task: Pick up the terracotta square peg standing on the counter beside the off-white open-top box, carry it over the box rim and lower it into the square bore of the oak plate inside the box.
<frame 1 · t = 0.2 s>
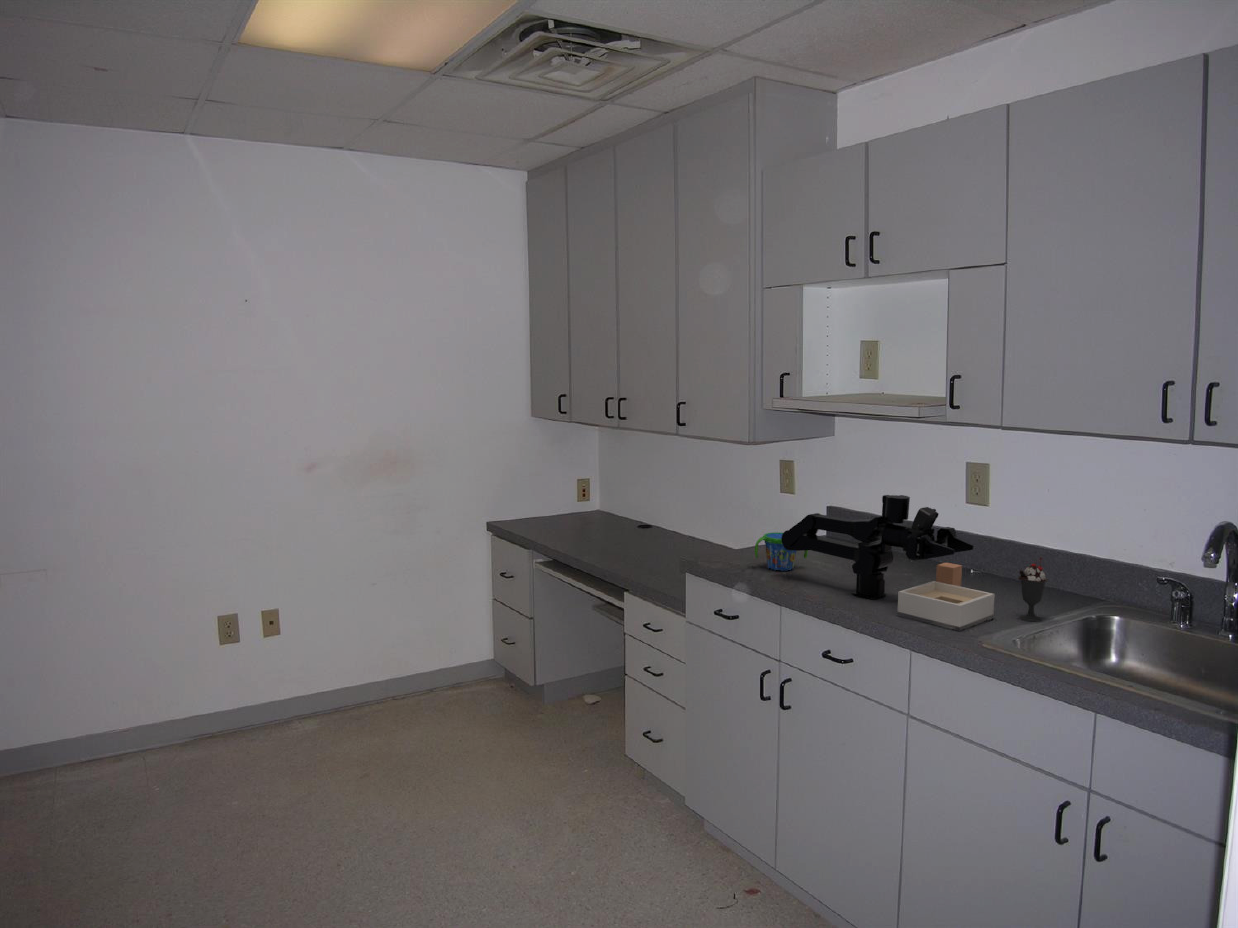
hand: (963, 549, 208), 17 cm above the worktop, tool horizontal, fingers open, 9 cm apart
socket box: (945, 616, 210), on the worktop
sundae: (1030, 619, 209), on the worktop
peg: (947, 599, 226), on the worktop
snack cup: (780, 569, 258), on the worktop
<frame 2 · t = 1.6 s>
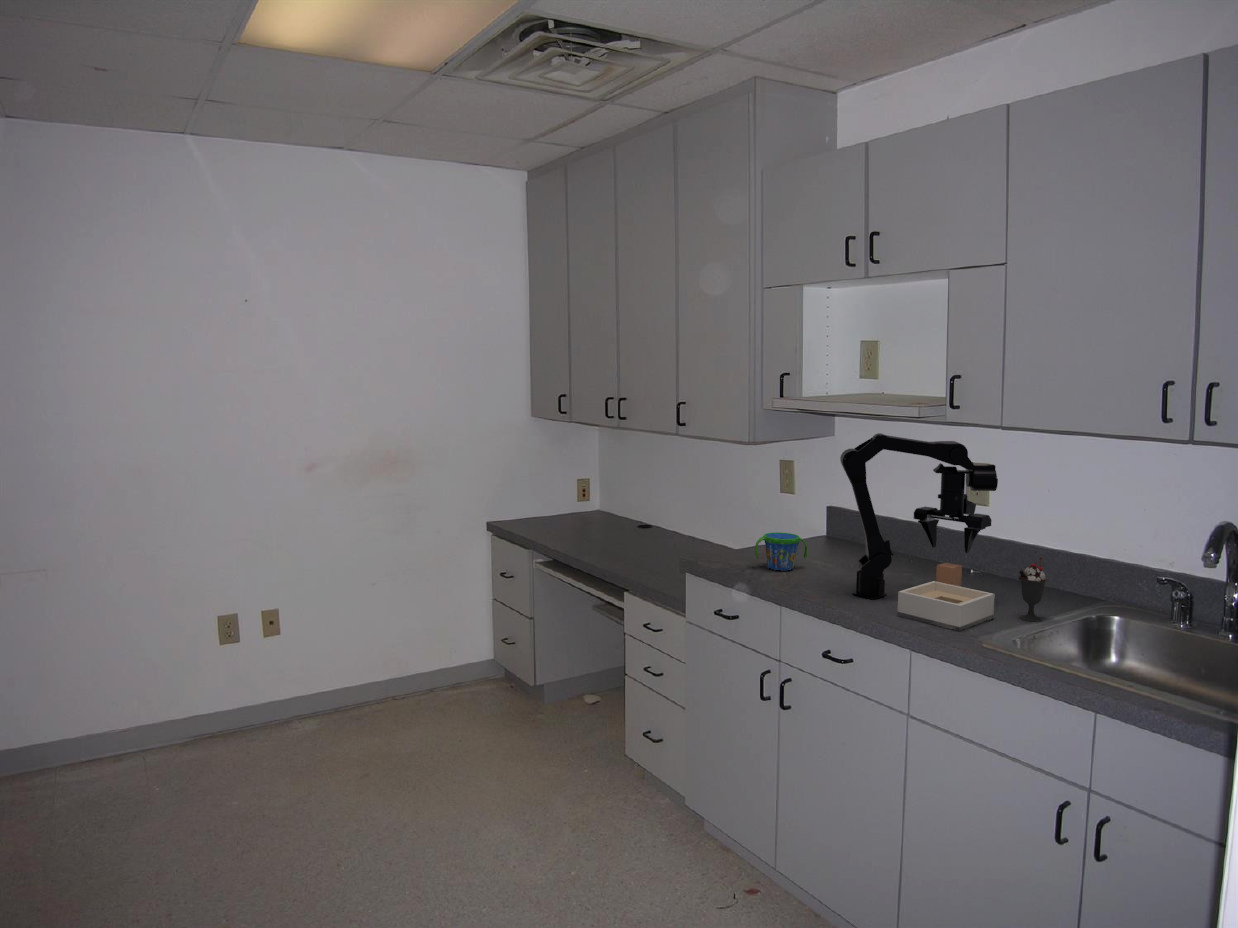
hand: (950, 550, 224), 13 cm above the worktop, tool pointing down, fingers open, 9 cm apart
nothing on the worktop moved.
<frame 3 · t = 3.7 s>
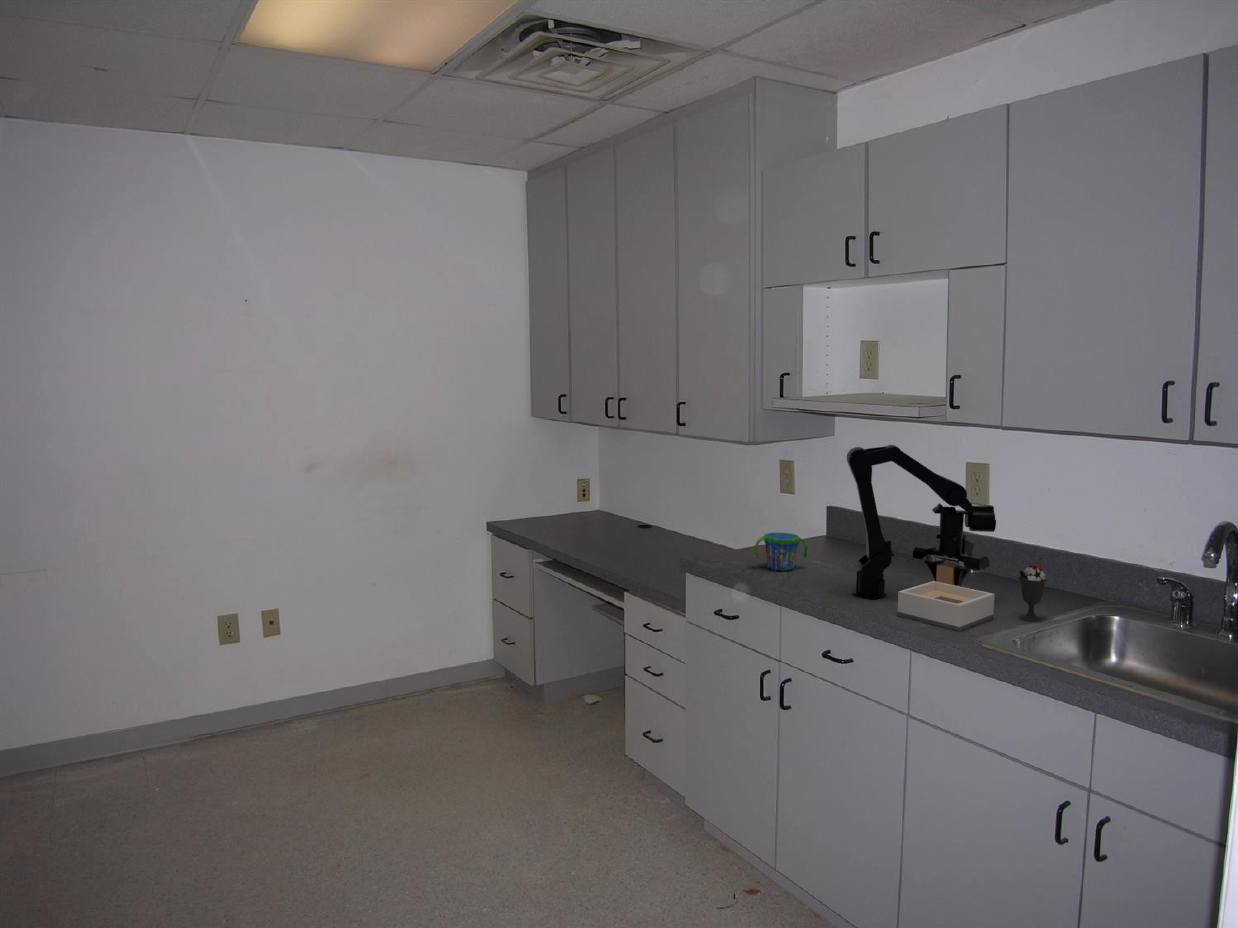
hand: (948, 589, 226), 3 cm above the worktop, tool pointing down, fingers closed on peg, 4 cm apart
peg: (947, 599, 226), on the worktop, touching gripper
everything else where it was.
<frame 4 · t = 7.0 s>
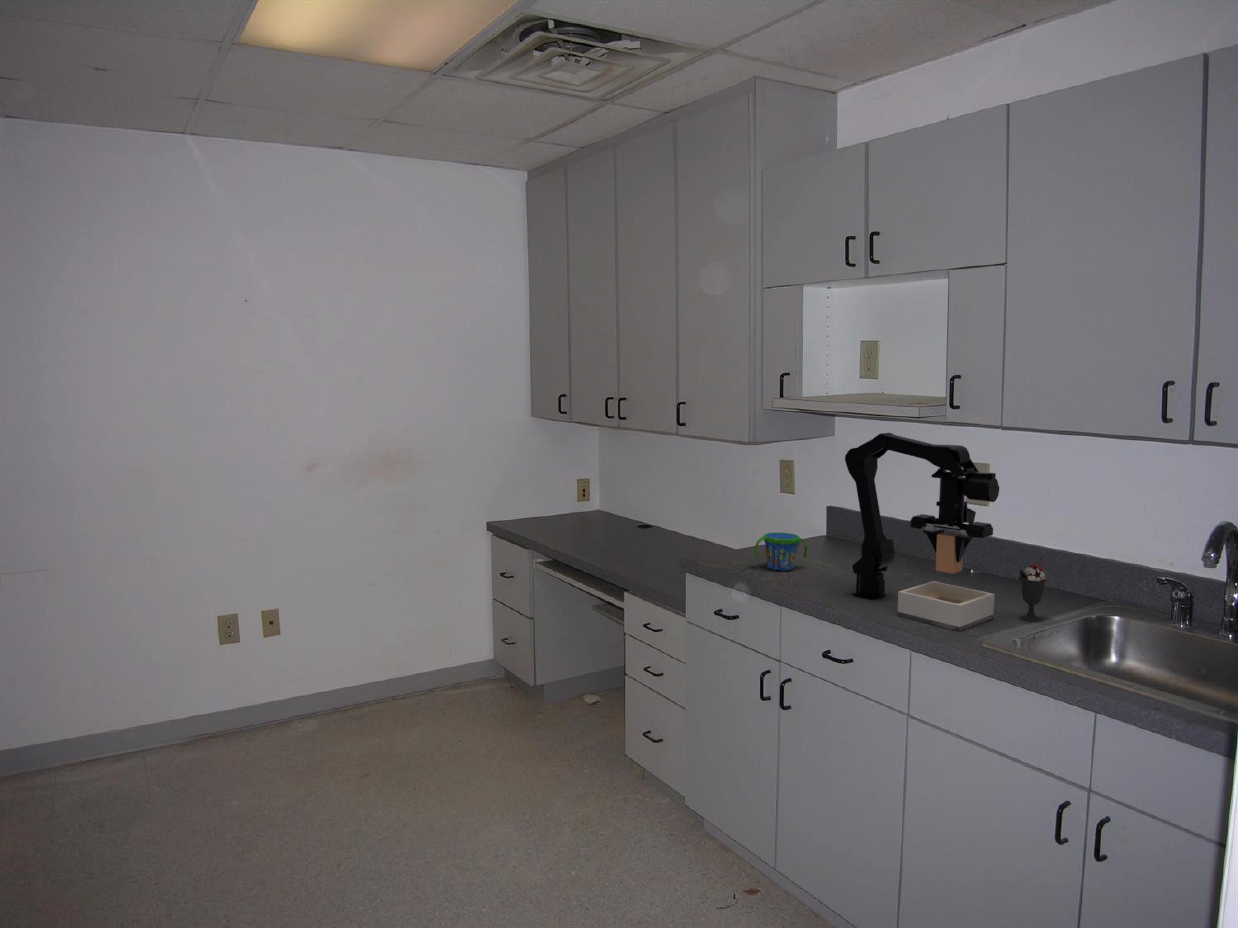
hand: (949, 560, 212), 13 cm above the worktop, tool pointing down, fingers closed on peg, 4 cm apart
peg: (948, 570, 212), point 11 cm above the worktop, touching gripper
everything else where it was.
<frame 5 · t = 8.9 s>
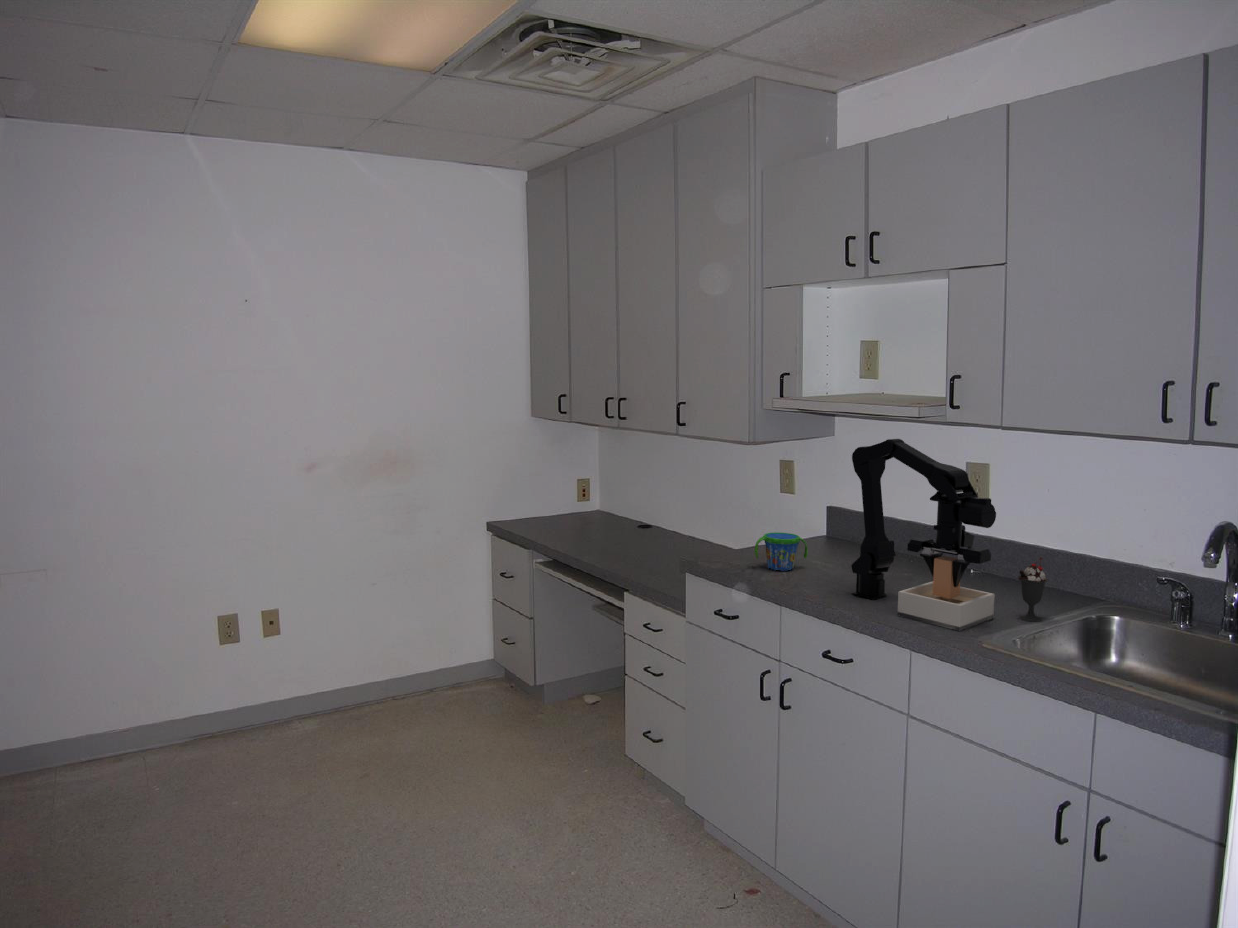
hand: (946, 584, 209), 8 cm above the worktop, tool pointing down, fingers closed on peg, 4 cm apart
peg: (946, 595, 210), point 5 cm above the worktop, touching gripper
everything else where it was.
when the fingers open (5 cm above the worktop, at t = 10.7 s): peg drops 1 cm, resting on socket box.
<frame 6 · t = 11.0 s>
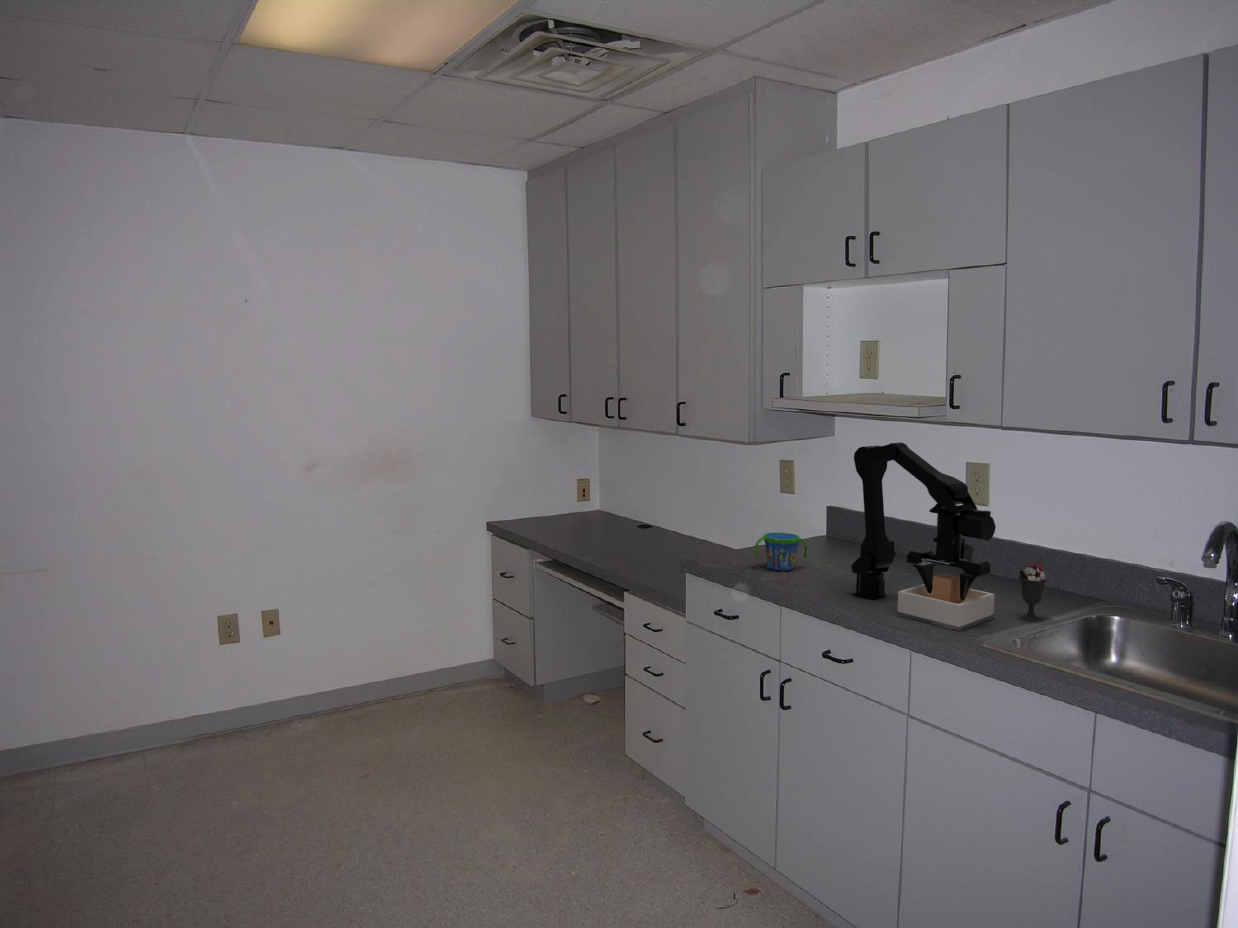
hand: (946, 596, 210), 5 cm above the worktop, tool pointing down, fingers open, 8 cm apart
peg: (945, 612, 210), point 1 cm above the worktop, touching socket box
everything else where it was.
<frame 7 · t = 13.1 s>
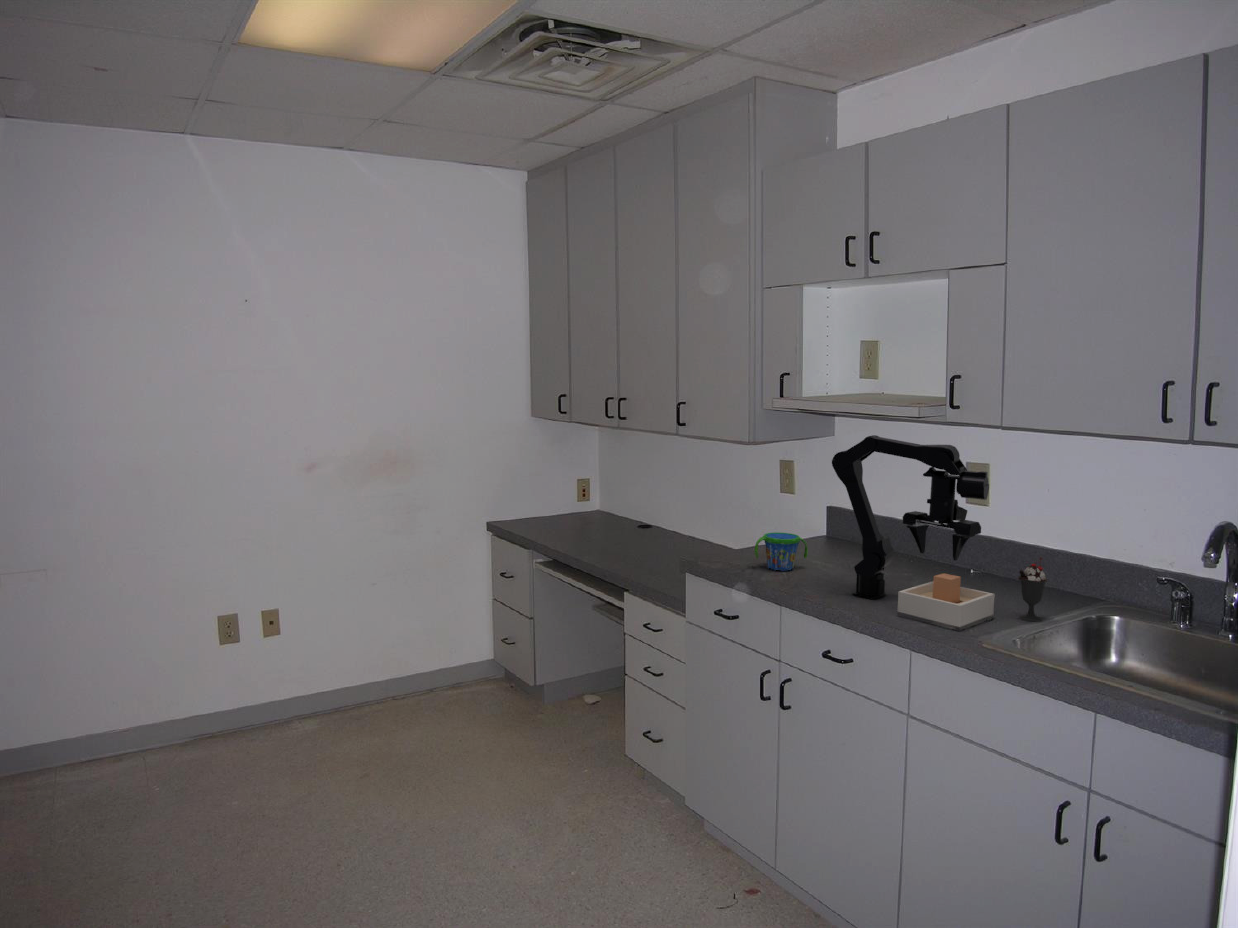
hand: (938, 556, 218), 13 cm above the worktop, tool pointing down, fingers open, 9 cm apart
nothing on the worktop moved.
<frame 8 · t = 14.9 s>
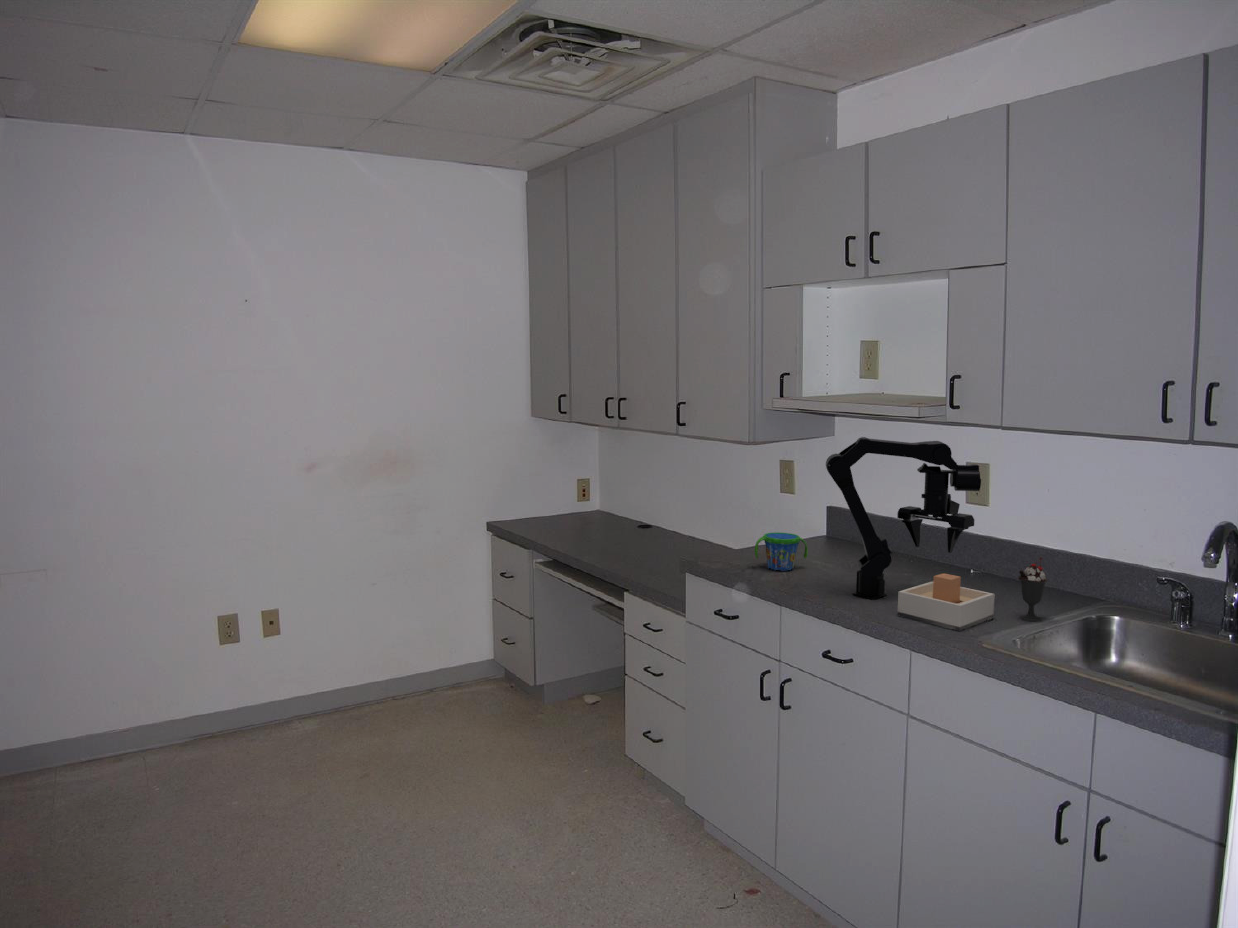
hand: (933, 549, 225), 13 cm above the worktop, tool pointing down, fingers open, 9 cm apart
nothing on the worktop moved.
at the end: peg 0.1 cm off-centre on the socket box, point 1.0 cm above the socket box's base; peg tilted 0°; the gripper is holding nothing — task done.
